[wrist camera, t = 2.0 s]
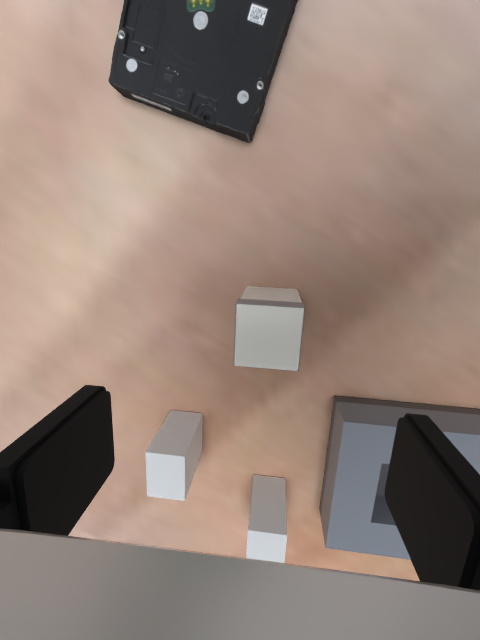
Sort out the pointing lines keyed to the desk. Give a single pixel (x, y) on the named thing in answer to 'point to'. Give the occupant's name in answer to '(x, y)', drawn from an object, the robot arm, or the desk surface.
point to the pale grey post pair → (178, 470)
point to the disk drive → (201, 58)
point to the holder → (377, 469)
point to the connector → (269, 328)
